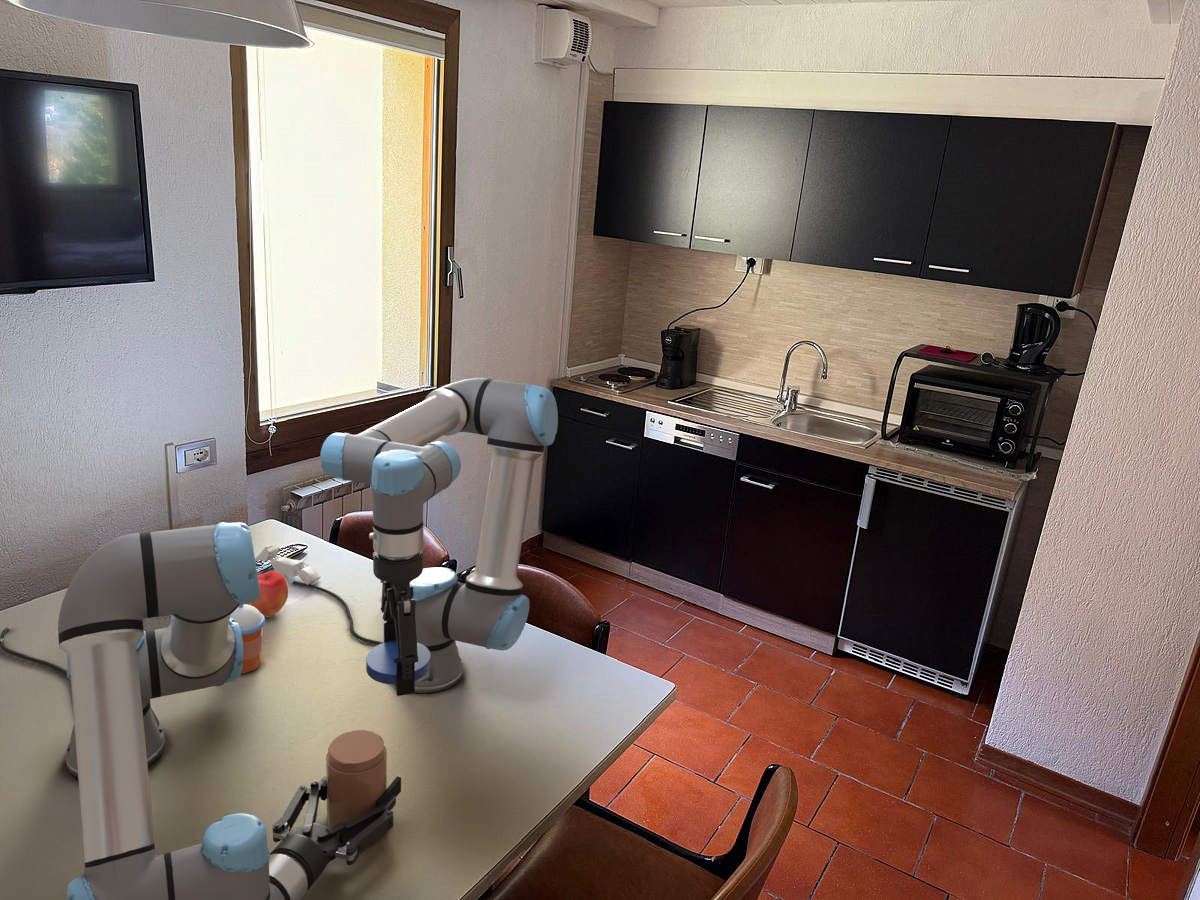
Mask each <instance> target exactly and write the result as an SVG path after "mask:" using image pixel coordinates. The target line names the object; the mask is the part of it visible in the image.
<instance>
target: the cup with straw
mask: <svg viewBox="0 0 1200 900" xmlns="http://www.w3.org/2000/svg"><path fill="white" fill-rule="evenodd" d="M230 618H233V619H235V620H236V622H237V623H238V625H239V627H240V630H241V634H242V640H243V660H242V662H243V667H242V671H241V674H244V673H249V672H251V671H254V670H255V669H257V668H258V667H259V666H260V663H261V653H262V649H263V647H262V646H263V634H264V633H263V628H264V627H265V625H266V617H264V616H263V614H261V613H260V612H259V611H258V610H257V609H256V608H255V607H253V606H251V605H247V604H242V605H241V604H240V605H239V607H238V608H237V609H236V610H235V611H234V612H233V613H232V614H231V615H230Z"/></svg>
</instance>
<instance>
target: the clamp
mask: <svg viewBox="0 0 1200 900" xmlns="http://www.w3.org/2000/svg"><path fill="white" fill-rule="evenodd" d="M280 549H281V547H279V546H278V545H277V544H272V545H266V546H264V547H263V549H262V550H261V551H260V552H259V554H258V555H257V556H255V562H256V561H259V560H262V561H268V560H271V562H270V563H269V564H271V565H272V566H273V568H274V571H275V572H278V573H281V574H282V575H283V576H288V577H292V578H296V577H298V578H299V579H300V580H301V582H302V583H305V584H308V585H314V584H316V583H318V582H319V580H320V579H321V578H322V577H321V575H320V574H319V573H318V572H317V570H315V569H314V568H313V566H312V565H310V564H309V565H308V564H307V563H305V562H304V561H303V560H301V559H300V560H299V559H292V558H289V557H285V556H278V553H279V551H280ZM273 558H274V559H273ZM272 559H273V560H272ZM305 566H306V567H305ZM270 571H271V570H270Z"/></svg>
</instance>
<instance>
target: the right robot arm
mask: <svg viewBox="0 0 1200 900" xmlns="http://www.w3.org/2000/svg"><path fill="white" fill-rule="evenodd" d="M558 425H559V412H558V406H557V401H556V397H555V396H554V394H553V392H552V391H551V390H550V389H548V388H546V387H544V386H540V385H535V384H532V383H522V382H515V381H507V380H501V379H500V380H499V379H494V378H493V379H492V378H486V377H474V378H473V377H472V378H467V379H462V380H458V381H454V382H451V383H449V384H445V385H442V386H441V387H440V386H439V387H438V388H436V389H434V390H432V391H430V392H429V393H428V394H427V395H426V397H425V398H424V400H423V401H422V402H421V401H420V402H419V403H417V404H416V405H413V406H411V407H410V408H407V409H405V410H404V411H402V412H399V413H398V414H396V415H394V416H391V417H390V418H387V419H386V420H384V421H381V422H380V423H378V424H376V425H374V426H371V427H370V428H367V429H366V430H364V431H362V432H360V433H358V434H351V433H349V432H344V433H343V432H334V433H331V434H330V435H328V436H327V437H326V439H325V440H324V441H323V443H322V446H321V448H320V449H321V450H320V454H319V456H320V467H321V469H322V471H323V472H324V473H325V474H326V475H327V476H329V477H332V478H335V479H340V480H342V481H344V482H346V481H348V482H354V483H360V484H366V485H371V499H372V530H373V532H370V533H369V534H368V538H369V540H372V548H373V551H374V552H373V553H372V571H373V572H372V573H373V575H374V576H375V577H376V578H377V579H378V580H379V581H381V580H382V581H383V583H381V584H382V585H381V604H380V605H381V606H380V611H381V613H382V620H383V641H380V640H379V641H378V640H374V639H370V638H366V637H363V636H362V635H359V634H358V633H357V632H356V630H355V629H354V628H355V627H354V619H353V617H352V614H351V611H350V608H349V606H348V604H347V602H345V600H343V598H341V596H339V595H337V593H334V592H332V591H330V590H328V589H326V588H323V587H320V586H318V585H314V584H311V585H308V584H305V583H304V582H302V581H297V580H293V581H292V584H293V585H296V586H301V587H305V588H310V589H313V590H317V591H319V592H323V593H324V594H327V595H329V596H331V597H333V598H334V599H336V600H337V601H338V602H339V603H340V604H341V606H343V607H344V609H345V612H346V615H347V618H348V621H349V630H350V633H351V634H352V636H353V637H354V638H356V639H357V640H359V641H362V642H364V643H366V644H370V645H376V646H377V645H379V644H382V643H385V642H388V641H394V640H396V642H397V652H398V657H397V658H395V659H393V661H394V663H396V685H395V686H396V687H395V688H396V689H395V690H396V693H395V694H396V697H401V696H406V695H412V694H415V693H416V694H430V693H431V694H432V693H438V692H441V691H445V690H447V689H450V688H451V687H453V686H455V685H456V684H457V683H458V682H459V681H460V680H461V679H462V676H463V672H464V664H463V660H462V657H461V656H460V653H459V649H458V646H457V642H460V643H464V644H469V645H473V646H476V647H477V646H478V647H482V648H485V649H487V650H490V649H491V650H496V651H508V650H509V649H511V648H512V647H513V646H515V644H516V643H517V642H518V640H519V639H520V636H521V635H522V633H523V630H524V629H525V626H526V623H527V620H528V617H529V612H530V599H529V598H528V596H526V595H525V594H522V593H523V586H524V585H523V583H522V582H521V580H520V579H519V578H518V572H519V571H518V570H519V565H520V558H521V552H522V551H521V550H522V546H523V539H524V538H523V537H524V532H525V526H526V525H525V524H526V518H527V512H528V507H529V500H530V499H529V498H530V493H531V486H532V480H533V475H534V474H533V473H534V467H535V461H536V460H537V459H539V458H540V457H541V456H543V455H544V451H545V447H548V446H551V445H552V444H553V443H554V442H555V439H556V435H557V432H558ZM458 433H470V434H475V435H479V436H480V435H481V436H486V437H487V440H486V446H487V448H488V450H489V451H490V452H491V454H492V458H491V465H490V471H489V478H488V483H487V490H486V496H485V502H484V509H483V517H482V522H481V528H480V529H481V530H480V536H479V541H478V547H477V548H478V549H477V555H476V562H475V568H474V569H475V570H474V571H472V572H471V573H470V574H468V575H467V576H466V578H465V583H464V582H460V581H458V580H459V579H458V578H459V577H458V575H457V572H456V571H454V570H453V569H451V568H448V567H441V566H440V567H437V566H433V567H426V568H424V552H423V550H424V504H425V503H427V502H428V501H430V500H431V499H432V498H434V497H435V496H437V495H438V494H439V493H441V492H442V491H444V490H446V489H447V488H449V486H451V484H453V482H455V481H456V480H457V479H458V477H459V475H460V473H461V470H462V461H461V458H460V455H459V453H458V452H457V450H456V449H455V448H454V447H453V446H452V445H450V444H449V443H447V442H445V441H437V440H438V439H440V438H441V437H443V436H445V437H446V436H447V437H449V436H455V435H456V434H458ZM417 642H418V643H420V644H422V645H424V646H425V647H427V648H428V650H429V651H430V655H431V660H430V669H429V671H428V672H427V674H426V675H425V676H423V677H422V678H420V679H418V680H416V681H415V662H418V652H417Z"/></svg>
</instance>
